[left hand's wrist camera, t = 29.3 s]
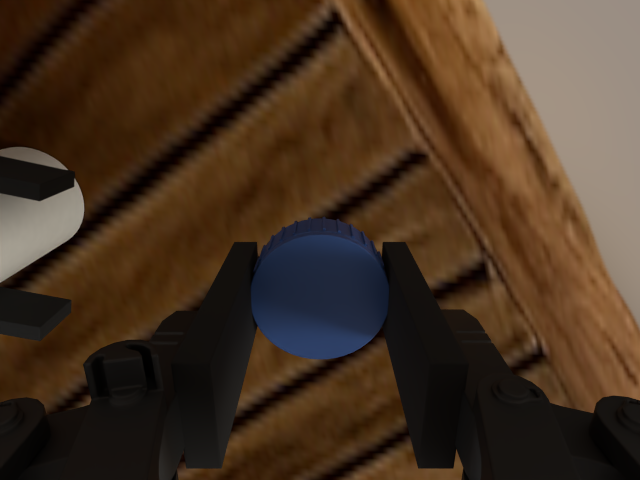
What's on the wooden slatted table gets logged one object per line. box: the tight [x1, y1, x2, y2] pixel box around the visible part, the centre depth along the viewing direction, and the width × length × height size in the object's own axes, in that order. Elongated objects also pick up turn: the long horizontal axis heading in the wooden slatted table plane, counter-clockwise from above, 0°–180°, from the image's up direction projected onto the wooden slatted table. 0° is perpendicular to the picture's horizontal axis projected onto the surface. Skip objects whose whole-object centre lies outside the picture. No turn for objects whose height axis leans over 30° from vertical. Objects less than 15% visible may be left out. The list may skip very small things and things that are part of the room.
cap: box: [251, 217, 389, 359], centre depth 14 cm, size 4×4×2 cm
